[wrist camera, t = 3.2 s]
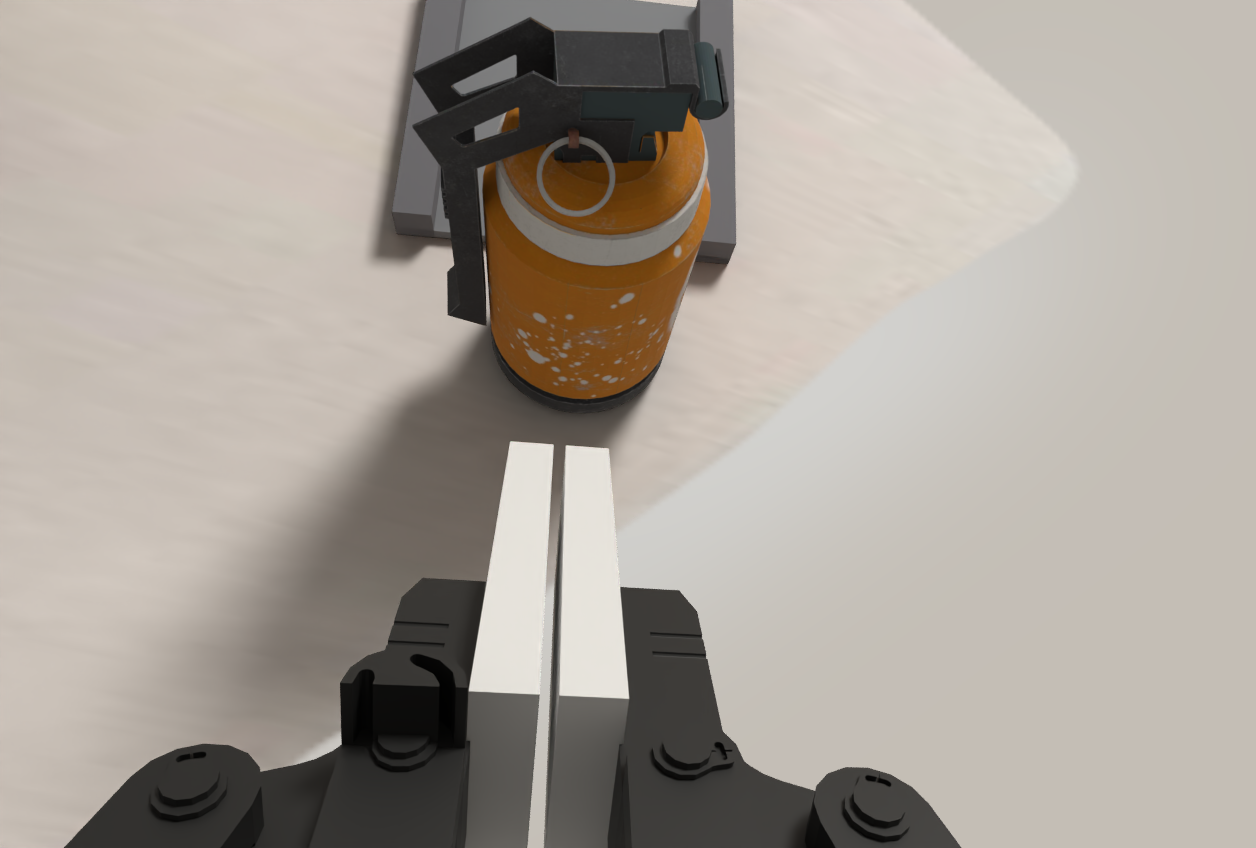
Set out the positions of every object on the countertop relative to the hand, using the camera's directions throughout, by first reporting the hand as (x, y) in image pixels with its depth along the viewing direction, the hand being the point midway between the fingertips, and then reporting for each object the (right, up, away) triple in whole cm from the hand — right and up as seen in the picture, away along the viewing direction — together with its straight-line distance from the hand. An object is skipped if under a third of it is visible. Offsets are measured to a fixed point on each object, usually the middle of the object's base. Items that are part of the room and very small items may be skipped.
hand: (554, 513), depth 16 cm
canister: (-2, +6, +31) cm, 31 cm away
